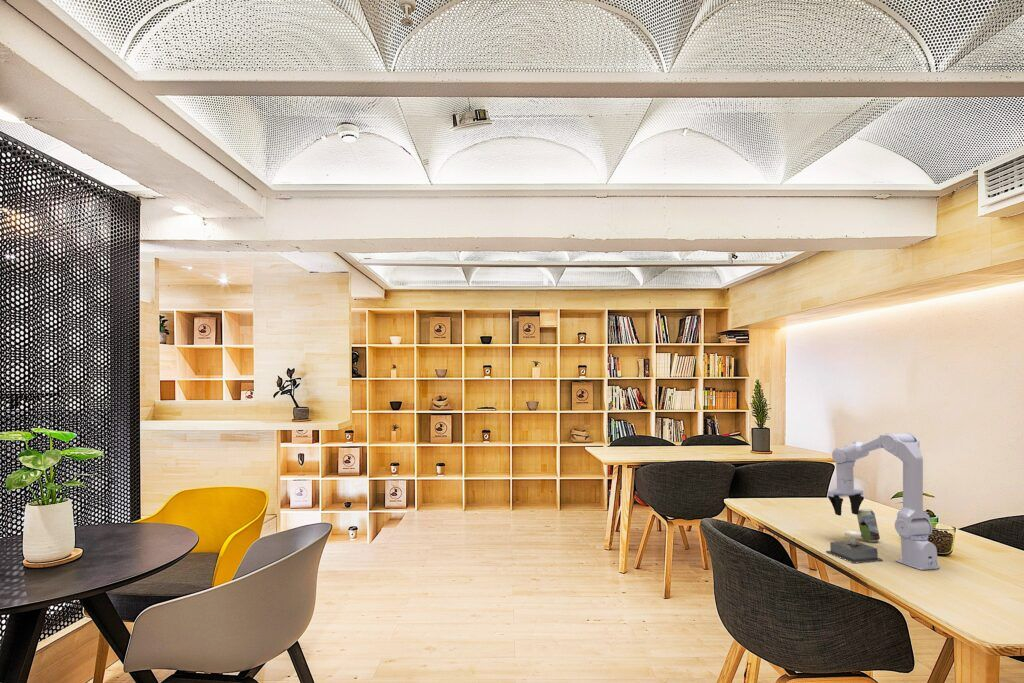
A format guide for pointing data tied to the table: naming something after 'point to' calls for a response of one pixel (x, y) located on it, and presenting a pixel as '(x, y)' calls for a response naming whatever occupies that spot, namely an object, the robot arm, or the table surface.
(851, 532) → the plunger
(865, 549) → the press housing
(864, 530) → the beverage can
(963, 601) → the table surface
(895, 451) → the robot arm
